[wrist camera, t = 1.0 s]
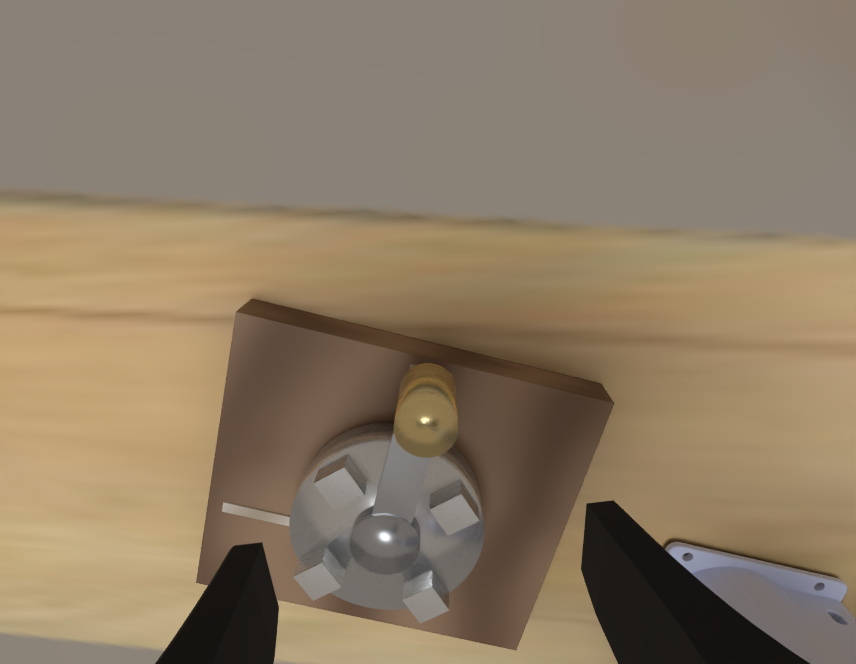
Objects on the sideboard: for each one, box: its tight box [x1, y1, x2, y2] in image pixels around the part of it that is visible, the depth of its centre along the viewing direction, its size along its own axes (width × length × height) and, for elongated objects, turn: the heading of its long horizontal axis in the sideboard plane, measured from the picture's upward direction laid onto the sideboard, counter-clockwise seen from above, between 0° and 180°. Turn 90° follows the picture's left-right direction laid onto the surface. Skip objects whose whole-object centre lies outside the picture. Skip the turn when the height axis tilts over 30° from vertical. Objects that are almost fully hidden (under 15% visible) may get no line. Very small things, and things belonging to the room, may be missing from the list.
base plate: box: [196, 299, 614, 650], centre depth 26 cm, size 16×14×2 cm
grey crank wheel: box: [289, 363, 484, 624], centre depth 22 cm, size 12×8×6 cm, turn 166°
